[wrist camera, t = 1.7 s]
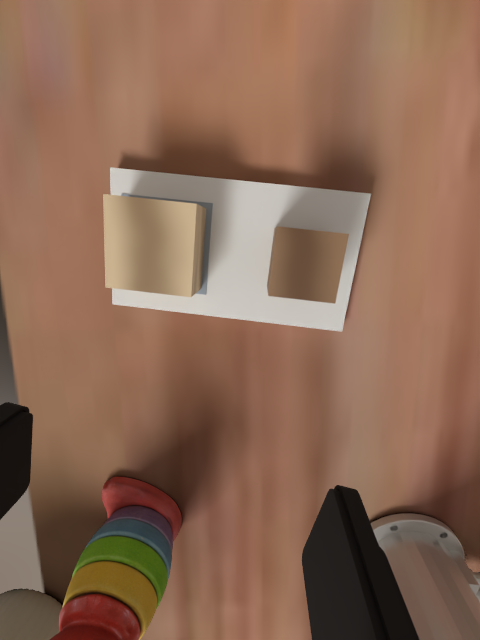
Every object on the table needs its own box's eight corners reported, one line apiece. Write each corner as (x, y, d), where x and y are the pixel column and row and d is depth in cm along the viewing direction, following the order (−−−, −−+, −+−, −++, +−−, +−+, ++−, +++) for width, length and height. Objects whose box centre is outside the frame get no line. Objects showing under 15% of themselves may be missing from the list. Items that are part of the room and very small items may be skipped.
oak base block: (206, 208, 25) (196, 203, 22) (201, 288, 27) (191, 297, 23) (126, 200, 26) (103, 193, 22) (127, 280, 28) (105, 287, 24)
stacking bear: (105, 472, 36) (-39, 689, 18) (187, 486, 35) (118, 720, 18) (104, 538, 39) (-21, 778, 21) (180, 552, 38) (115, 806, 21)
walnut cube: (332, 234, 25) (349, 233, 20) (321, 291, 27) (335, 303, 22) (274, 228, 25) (277, 226, 21) (266, 285, 27) (268, 295, 22)
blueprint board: (365, 195, 25) (371, 193, 24) (338, 327, 29) (342, 331, 27) (116, 170, 26) (109, 167, 25) (118, 301, 30) (112, 304, 28)
